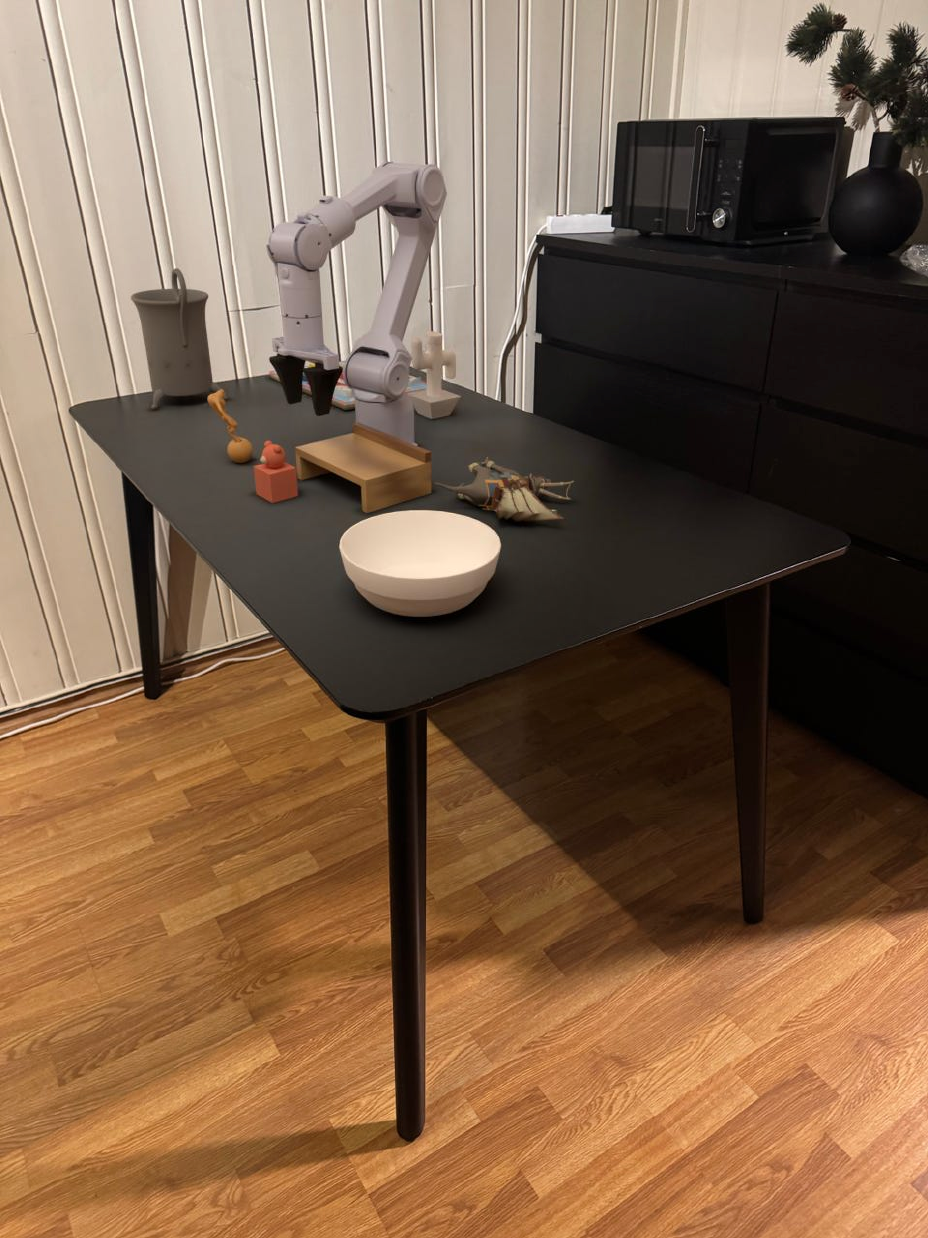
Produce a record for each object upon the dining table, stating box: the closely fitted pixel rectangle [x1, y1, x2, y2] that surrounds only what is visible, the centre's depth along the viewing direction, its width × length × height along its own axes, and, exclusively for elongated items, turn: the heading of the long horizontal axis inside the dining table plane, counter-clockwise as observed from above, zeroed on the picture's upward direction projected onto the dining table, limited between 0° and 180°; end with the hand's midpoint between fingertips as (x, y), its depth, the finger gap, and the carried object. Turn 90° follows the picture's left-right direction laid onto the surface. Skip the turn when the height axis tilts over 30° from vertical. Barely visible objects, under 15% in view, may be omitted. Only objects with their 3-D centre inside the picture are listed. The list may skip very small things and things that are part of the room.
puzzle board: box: [268, 360, 427, 411], centre depth 180 cm, size 30×23×3 cm
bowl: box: [338, 509, 502, 618], centre depth 100 cm, size 18×18×7 cm
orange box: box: [253, 440, 299, 504], centre depth 126 cm, size 4×4×8 cm
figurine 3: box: [433, 456, 574, 523], centre depth 122 cm, size 20×6×17 cm
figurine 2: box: [407, 330, 462, 420], centre depth 160 cm, size 7×9×15 cm
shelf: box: [294, 422, 432, 514], centre depth 130 cm, size 12×18×6 cm, turn 42°
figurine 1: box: [207, 388, 254, 464], centre depth 136 cm, size 8×6×12 cm
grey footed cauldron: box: [130, 267, 229, 410], centre depth 163 cm, size 19×15×25 cm
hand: (308, 408), depth 131 cm, fingers open, 7 cm apart
